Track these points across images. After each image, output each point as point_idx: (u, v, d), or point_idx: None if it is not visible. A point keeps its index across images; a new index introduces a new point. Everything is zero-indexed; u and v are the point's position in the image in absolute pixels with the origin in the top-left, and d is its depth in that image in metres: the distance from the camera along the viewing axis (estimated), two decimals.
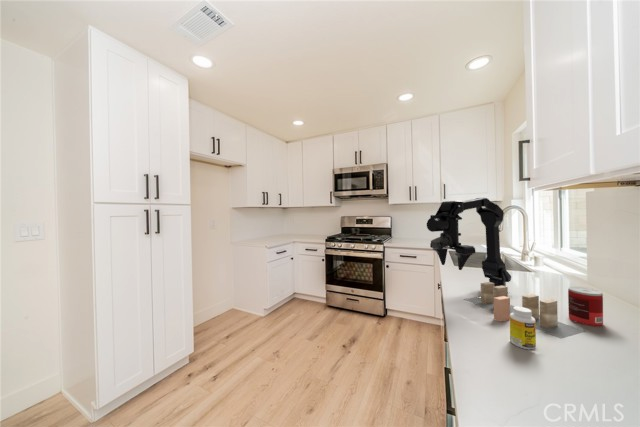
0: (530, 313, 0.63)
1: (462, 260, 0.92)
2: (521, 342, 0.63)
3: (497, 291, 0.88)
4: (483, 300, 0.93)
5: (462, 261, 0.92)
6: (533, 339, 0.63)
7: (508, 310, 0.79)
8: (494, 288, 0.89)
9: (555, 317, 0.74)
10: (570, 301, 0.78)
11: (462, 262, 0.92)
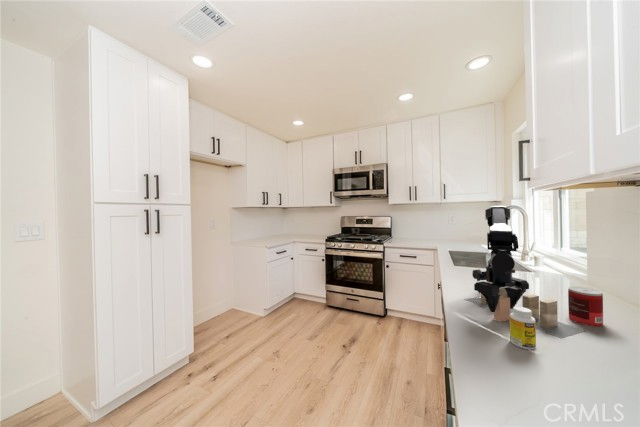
0: (530, 313, 0.63)
1: (489, 300, 0.78)
2: (521, 342, 0.63)
3: None
4: (483, 300, 0.93)
5: (489, 302, 0.78)
6: (533, 339, 0.63)
7: (508, 310, 0.79)
8: None
9: (555, 317, 0.74)
10: (570, 301, 0.78)
11: (490, 303, 0.78)
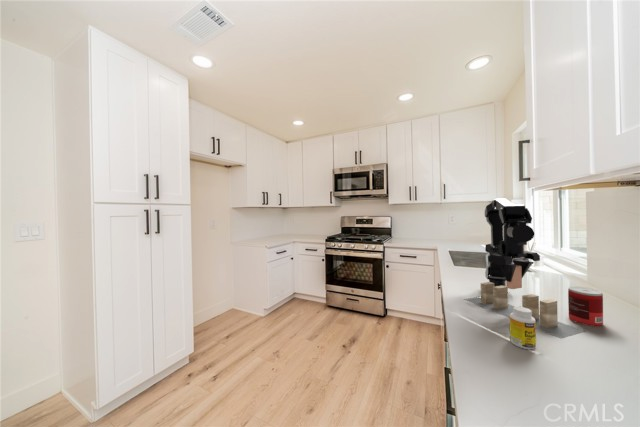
0: (530, 313, 0.63)
1: (506, 270, 0.83)
2: (521, 342, 0.63)
3: (497, 291, 0.88)
4: (483, 300, 0.93)
5: (506, 271, 0.83)
6: (533, 339, 0.63)
7: (520, 277, 0.84)
8: (494, 288, 0.89)
9: (555, 317, 0.74)
10: (570, 301, 0.78)
11: (506, 273, 0.83)
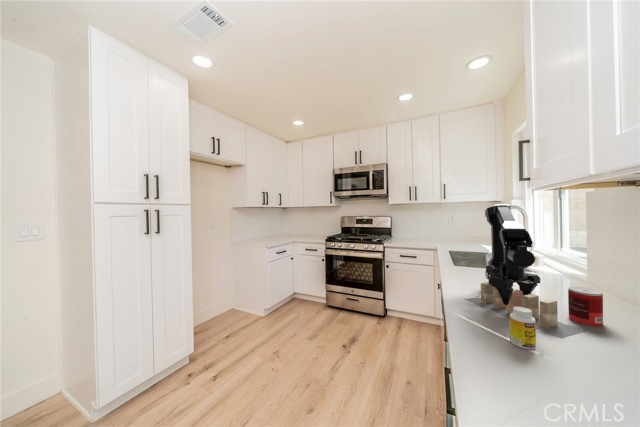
0: (530, 313, 0.63)
1: (503, 294, 0.83)
2: (521, 342, 0.63)
3: (497, 291, 0.88)
4: (483, 300, 0.93)
5: (503, 295, 0.83)
6: (533, 339, 0.63)
7: (521, 302, 0.84)
8: (494, 288, 0.89)
9: (555, 317, 0.74)
10: (570, 301, 0.78)
11: (503, 296, 0.83)
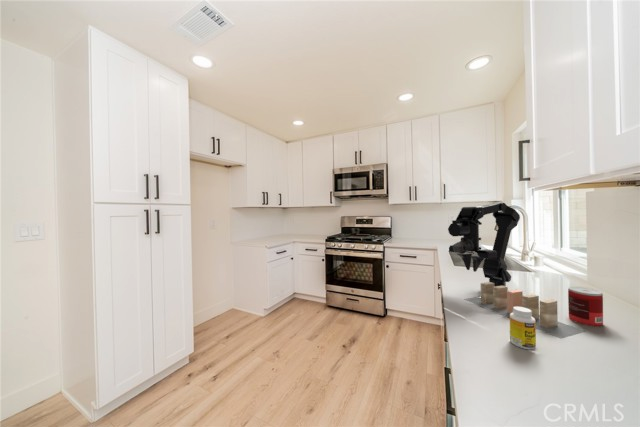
0: (530, 313, 0.63)
1: (477, 262, 0.98)
2: (521, 342, 0.63)
3: (497, 291, 0.88)
4: (483, 300, 0.93)
5: (477, 263, 0.98)
6: (533, 339, 0.63)
7: (521, 302, 0.84)
8: (494, 288, 0.89)
9: (555, 317, 0.74)
10: (570, 301, 0.78)
11: (477, 264, 0.98)
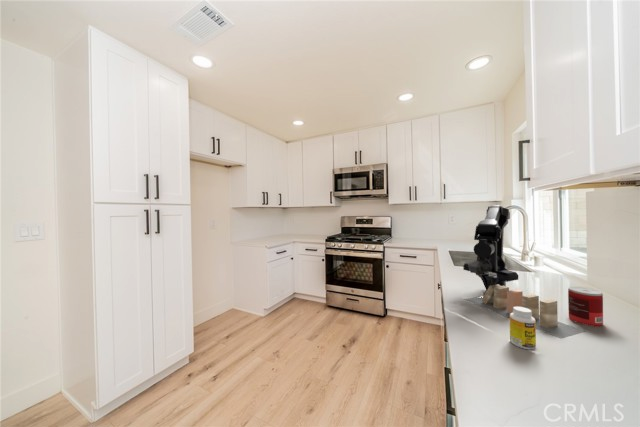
0: (530, 313, 0.63)
1: (492, 283, 0.92)
2: (521, 342, 0.63)
3: (498, 291, 0.87)
4: (484, 300, 0.93)
5: (492, 284, 0.92)
6: (533, 339, 0.63)
7: (521, 302, 0.84)
8: (495, 288, 0.88)
9: (555, 317, 0.74)
10: (570, 301, 0.78)
11: None
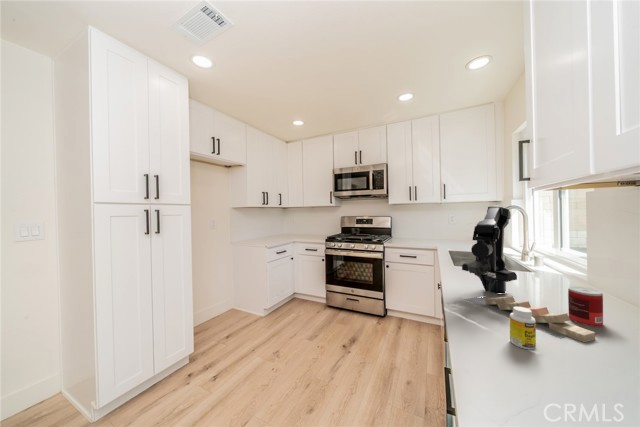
0: (530, 313, 0.63)
1: (490, 283, 0.93)
2: (521, 342, 0.63)
3: None
4: (488, 301, 0.91)
5: (490, 284, 0.93)
6: (533, 339, 0.63)
7: None
8: (518, 304, 0.81)
9: None
10: (570, 301, 0.78)
11: (490, 285, 0.93)
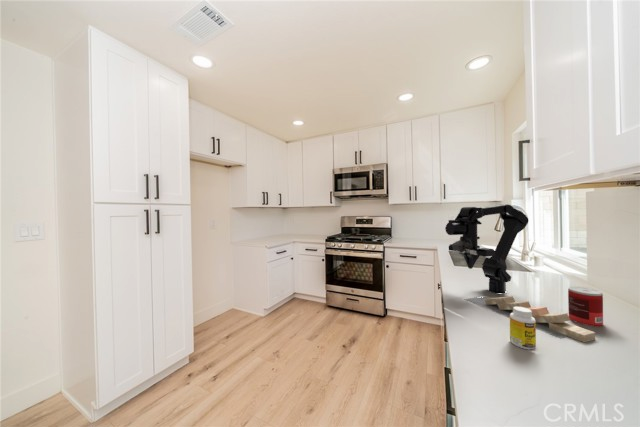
0: (530, 313, 0.63)
1: (473, 260, 1.03)
2: (521, 342, 0.63)
3: None
4: (488, 301, 0.91)
5: (473, 261, 1.03)
6: (533, 339, 0.63)
7: None
8: (518, 304, 0.81)
9: None
10: (570, 301, 0.78)
11: (473, 262, 1.03)
